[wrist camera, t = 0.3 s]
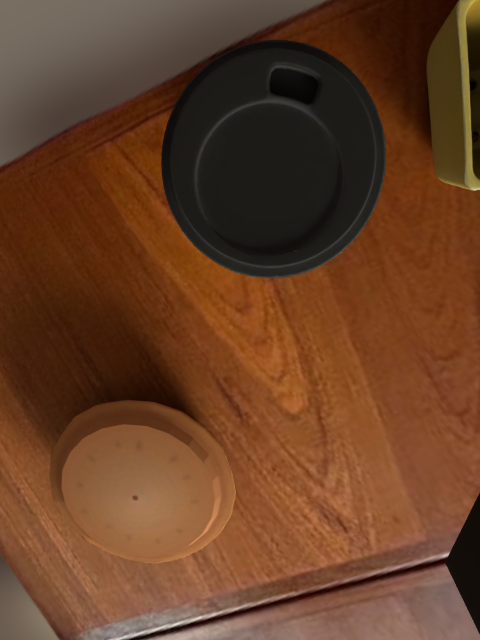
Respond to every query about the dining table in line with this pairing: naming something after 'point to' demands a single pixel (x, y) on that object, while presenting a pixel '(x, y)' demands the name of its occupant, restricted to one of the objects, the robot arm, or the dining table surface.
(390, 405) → the dining table surface
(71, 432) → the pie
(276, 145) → the coffee cup
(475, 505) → the robot arm
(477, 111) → the flower pot
